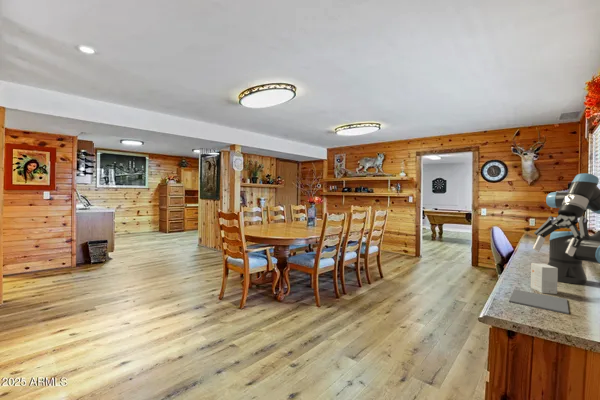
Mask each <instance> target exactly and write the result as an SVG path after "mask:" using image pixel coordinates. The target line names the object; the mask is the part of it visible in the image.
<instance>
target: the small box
mask: <svg viewBox="0 0 600 400" xmlns="http://www.w3.org/2000/svg"><path fill="white" fill-rule="evenodd" d="M558 282H559V281H558V268H556V267H553V266H550V265H548V263H536V262H535V263H534V262H531V263H530V288H531V289H533V290H535V291H537V292H539V293H540V294H552V295H557V294H558Z"/></svg>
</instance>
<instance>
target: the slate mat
mask: <svg viewBox="0 0 600 400" xmlns="http://www.w3.org/2000/svg"><path fill="white" fill-rule="evenodd" d="M508 302H509V303H514V304H518V305H523V306H527V307H531V308H532V307H533V308H538V309H541V310H546V311H552V312H557V313H562V314H566V315H569V313H570V312H569V305H568V298H562V297H558V296H552V295H548V294H547V295H546V294H543V293H538V292H530V291H525V290H520V289H515V288H514V289H513V291H512V293H511V295H510V297H509V300H508Z"/></svg>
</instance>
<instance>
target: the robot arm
mask: <svg viewBox="0 0 600 400" xmlns="http://www.w3.org/2000/svg"><path fill="white" fill-rule="evenodd" d="M599 181H600V180H599V177H598V176H596V175H594V174H591V173H587V172H585V173H578V174H576V175H575V176H574V178H573V180H572V181H571V184H570V186H569V189H568V191H555V192H554V191H553V192H550V193H548V194H547V195H546V197H545V198H546V201H545V202H546V205H547V206H548V207H549V208H553V209H554V208H555V209H558V210H557V216H556V217H554V216H552V215H550V216H548V218H547V220H546V221H545V222H544V223H542V225H541V226H539V228H537V229H536V230H535V231H533V234H534V236H536V239H535V241H534V242H535V243H534V245H533V247H532V250H534V251H536V252H537V253H539V252H541V249H542V247H543V245H544V242H545V241H546V237H547V236H549V235H550V236H549V239H548V240H549V252H548V253H549V256H548V263H547V265H550V266H553V267H556V268H558V281H557V282H561V283H568V284H576V285H578V284H579V285H584V284H587V282H588V278H587V275H586V272H585V269H584V267H583V262H588V263H594V264H598V265H600V230H597V231H596V232H595V233H594V234H592V235H590V234H589V228H588V222H589V219H588V218H586V217H584V213H585V211H586V210H590V212H593V213H595V214H598V215H600V188H599V187H598V185H599ZM577 224H578V226H577ZM578 227H579V229H578ZM560 229H570V230H571V231H567V230H566V231H563V230H562V231H559V230H560ZM557 230H558V231H557Z"/></svg>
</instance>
